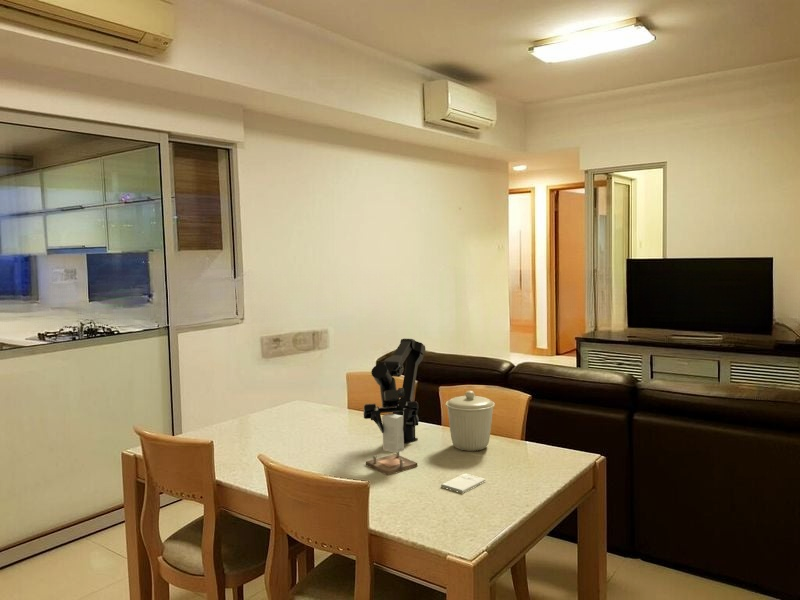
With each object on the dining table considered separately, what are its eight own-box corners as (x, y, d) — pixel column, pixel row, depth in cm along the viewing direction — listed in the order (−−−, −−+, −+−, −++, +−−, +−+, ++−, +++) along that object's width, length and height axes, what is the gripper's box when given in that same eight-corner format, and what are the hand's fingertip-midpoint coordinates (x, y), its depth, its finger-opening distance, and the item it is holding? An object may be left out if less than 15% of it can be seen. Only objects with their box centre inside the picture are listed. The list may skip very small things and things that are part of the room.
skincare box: (404, 449, 207) (403, 415, 206) (397, 453, 203) (396, 418, 202) (390, 446, 210) (389, 412, 209) (382, 450, 207) (381, 415, 206)
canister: (458, 457, 215) (457, 398, 213) (438, 442, 232) (437, 388, 230) (503, 451, 221) (503, 393, 219) (481, 437, 238) (481, 384, 236)
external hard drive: (441, 489, 188) (464, 477, 197) (462, 495, 182) (485, 483, 192) (440, 483, 188) (464, 472, 197) (462, 490, 182) (485, 478, 192)
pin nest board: (395, 457, 216) (395, 446, 216) (417, 466, 206) (417, 455, 206) (365, 464, 209) (365, 454, 208) (387, 475, 199) (387, 464, 198)
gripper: (363, 381, 207) (367, 422, 198) (417, 378, 210) (423, 418, 200) (361, 398, 216) (365, 438, 206) (413, 395, 219) (419, 434, 209)
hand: (393, 432), depth 205 cm, fingers closed on skincare box, 7 cm apart
